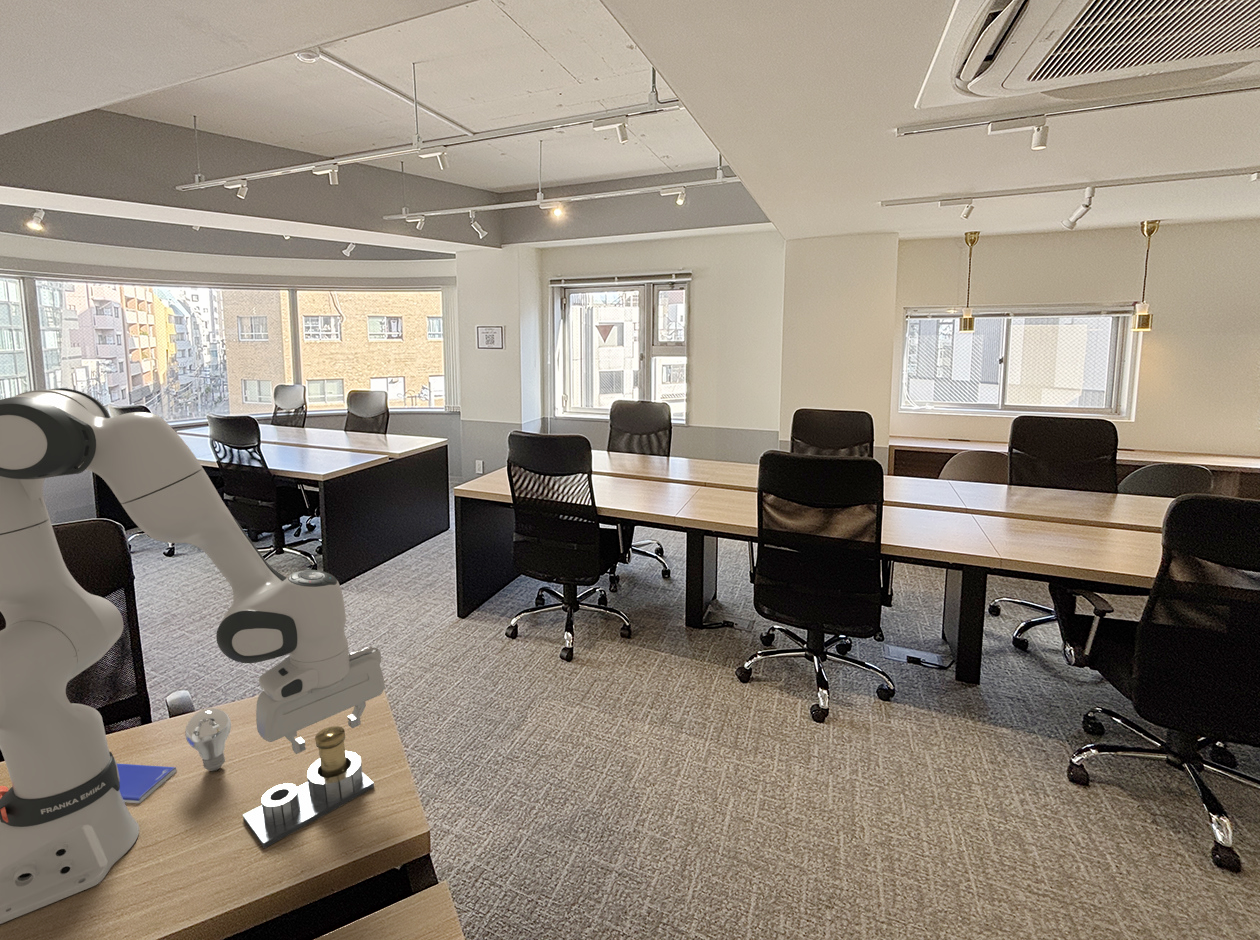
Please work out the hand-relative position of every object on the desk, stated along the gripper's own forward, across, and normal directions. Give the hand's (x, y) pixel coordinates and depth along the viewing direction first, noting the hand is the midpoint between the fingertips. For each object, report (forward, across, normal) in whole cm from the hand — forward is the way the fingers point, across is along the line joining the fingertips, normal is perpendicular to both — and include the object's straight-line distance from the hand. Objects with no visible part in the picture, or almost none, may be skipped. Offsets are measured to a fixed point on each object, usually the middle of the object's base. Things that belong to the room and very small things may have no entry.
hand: (327, 737), depth 111 cm
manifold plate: (+10, +4, 0) cm, 11 cm away
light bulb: (+11, +12, -22) cm, 27 cm away
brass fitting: (+9, 0, 0) cm, 9 cm away
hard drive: (+12, +24, -29) cm, 39 cm away
